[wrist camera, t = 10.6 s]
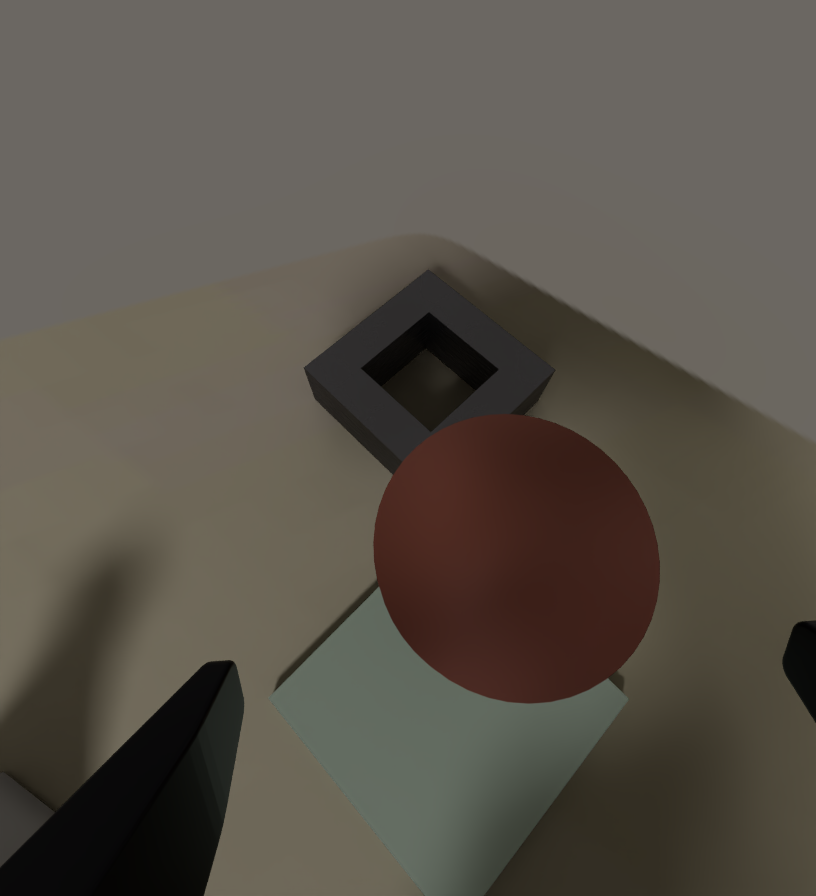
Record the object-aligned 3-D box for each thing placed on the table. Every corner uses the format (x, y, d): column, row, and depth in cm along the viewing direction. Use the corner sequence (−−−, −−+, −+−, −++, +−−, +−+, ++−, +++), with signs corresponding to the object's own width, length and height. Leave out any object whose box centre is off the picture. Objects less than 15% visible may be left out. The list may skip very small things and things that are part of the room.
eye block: (537, 400, 24) (555, 369, 22) (428, 508, 22) (431, 489, 19) (425, 308, 26) (428, 269, 24) (315, 399, 24) (303, 367, 22)
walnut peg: (524, 599, 20) (715, 544, 8) (445, 689, 19) (536, 782, 7) (441, 519, 21) (501, 367, 9) (362, 599, 20) (313, 542, 8)
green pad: (622, 697, 19) (629, 699, 19) (453, 924, 17) (455, 934, 16) (443, 523, 22) (444, 520, 21) (272, 696, 19) (268, 697, 19)
